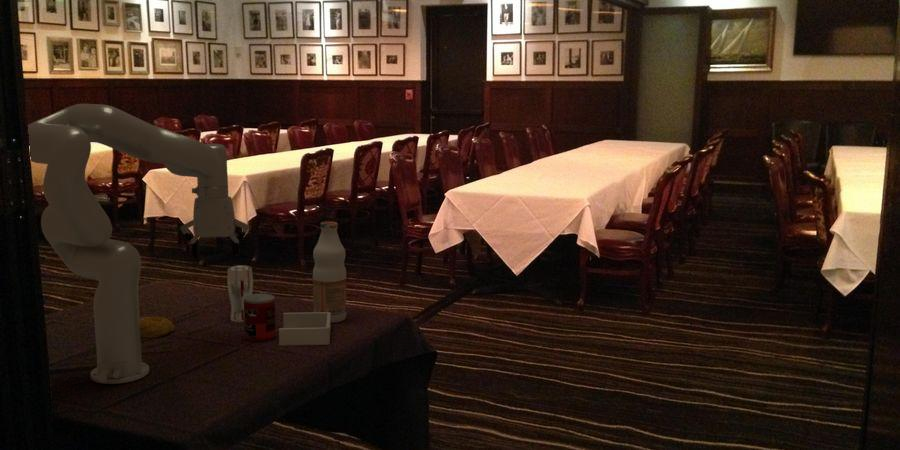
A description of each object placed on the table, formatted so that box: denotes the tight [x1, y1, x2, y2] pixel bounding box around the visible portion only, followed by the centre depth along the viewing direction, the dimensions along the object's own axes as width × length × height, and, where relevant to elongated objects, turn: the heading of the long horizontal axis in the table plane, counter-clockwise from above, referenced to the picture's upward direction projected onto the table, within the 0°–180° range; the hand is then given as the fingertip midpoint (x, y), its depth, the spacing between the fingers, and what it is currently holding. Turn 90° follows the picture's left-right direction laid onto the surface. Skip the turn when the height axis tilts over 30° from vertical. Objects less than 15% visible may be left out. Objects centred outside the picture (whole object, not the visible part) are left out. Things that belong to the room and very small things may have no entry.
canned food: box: [243, 293, 276, 342], centre depth 217 cm, size 8×8×11 cm
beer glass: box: [226, 265, 254, 323], centre depth 232 cm, size 7×7×15 cm
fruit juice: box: [312, 221, 347, 324], centre depth 233 cm, size 9×9×28 cm
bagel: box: [139, 316, 176, 339], centre depth 219 cm, size 10×11×5 cm
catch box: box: [278, 311, 332, 347], centre depth 219 cm, size 15×13×4 cm
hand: (216, 257), depth 213 cm, fingers open, 9 cm apart
